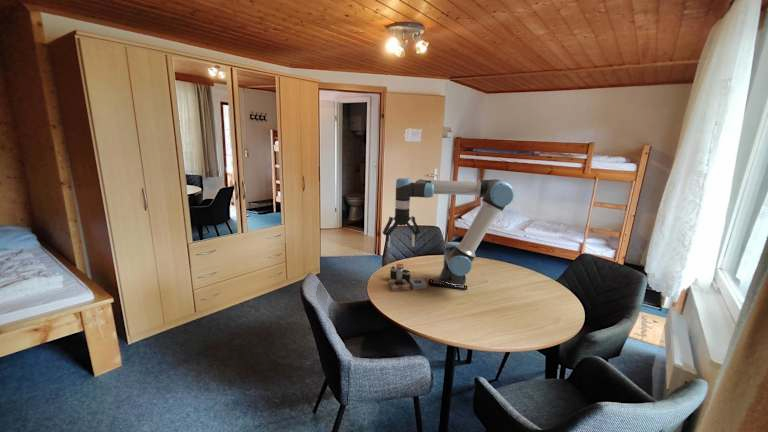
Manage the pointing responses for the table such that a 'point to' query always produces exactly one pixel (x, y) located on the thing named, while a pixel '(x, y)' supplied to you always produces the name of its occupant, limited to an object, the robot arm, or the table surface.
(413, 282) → the plate
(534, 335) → the table surface
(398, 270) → the lock pin
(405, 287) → the dock block
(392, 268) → the camera
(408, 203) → the robot arm
